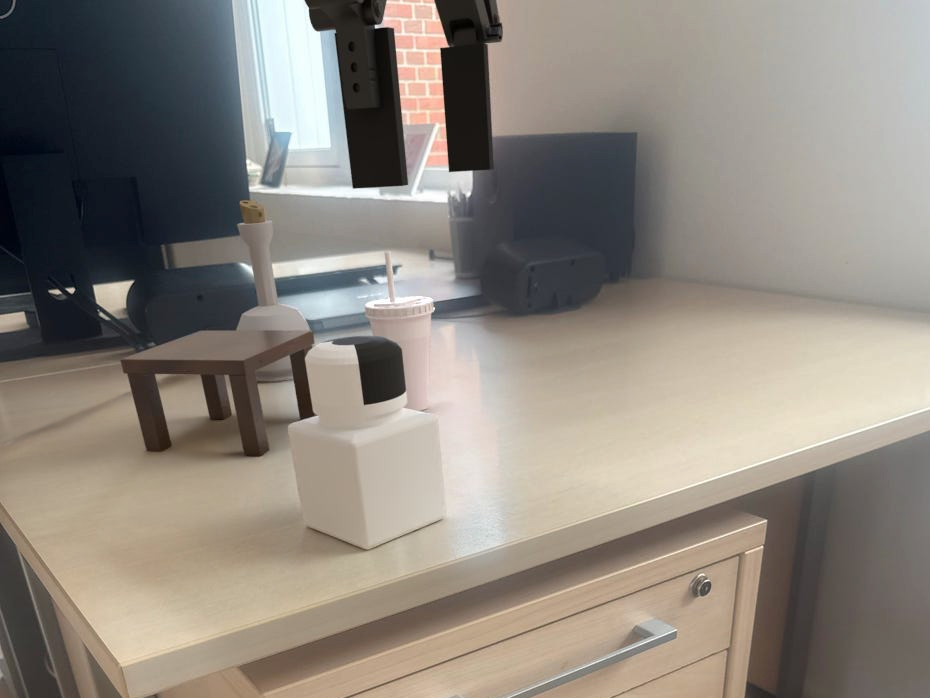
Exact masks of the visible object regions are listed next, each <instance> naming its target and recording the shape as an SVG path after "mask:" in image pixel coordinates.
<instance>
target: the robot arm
mask: <svg viewBox="0 0 930 698" xmlns="http://www.w3.org/2000/svg"><path fill="white" fill-rule="evenodd" d="M304 2H305V5H306V6H307V8H308V17H309V21H310V24H311V27H312V28H313V30H314V31H315V32H318V33H319V32H326V31H328V32H329V31H335V32H334V41H335V48H336V49H335V50H336V57H337V59H336V60H337V67H338V75H339V82H340V83H339V84H340V91H341V92H340V93H341V101H342V109H343V118H344V127H345V132H346V142H347V150H348V160H349V169H350V176H351V185H352V190H353V189H373V188H389V187H404V186H409V178H408V167H407V157H406V146H405V145H406V144H405V135H404V134H405V133H404V123H403V113H402V112H403V111H402V102H401V92H400V79H399V67H398V58H397V47H396V45H397V44H396V35H395V34H396V33H395V28H394V27H389V26H384V27H377V28H376V26H379V25H381V24H382V23H383V20H384V16H385V11H386V8H387V7H386V6H387V2H388V0H304ZM433 2H434V5H435V8H436V11H437V15H438V17H439V21H440V24H441V27H442V30H443V34H444V37H445V41H446V43H447V46H446V47H440V48H439V50H440V64H441V65H440V67H441V79H442V80H441V81H442V94H443V95H442V96H443V107H444V121H445V124H444V125H445V136H446V137H445V138H446V152H447V166H448V173H457V172H458V173H459V172H460V173H461V172H476V171H492V170H494V169H495V166H494V146H493V145H494V144H493V126H492V125H493V124H492V109H491V108H492V107H491V105H492V103H491V102H492V101H491V84H490V83H491V82H490V65H489V45H488V44H493V43H494V44H497V43H502V41H503V36H504V30H503V29H504V28H503V22H501V18H500V15H499V10H498V3H497V0H433Z"/></svg>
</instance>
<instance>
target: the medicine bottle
mask: <svg viewBox="0 0 930 698" xmlns="http://www.w3.org/2000/svg"><path fill="white" fill-rule="evenodd" d="M305 363H306V369H307V376H308V382H309V388H310V395H311V401H312V408H313V412H314V413H315V414H317V415H318V416H315V417H311V418H308V419H304V420H301V421H300V420H298V421H297V420H296V421H294V422H292V423H289V424H288V426H287V433H288V439H289V446H290V451H291V457H292V463H293V469H294V474H295V475H294V476H295V480H296V487H297V492H298V498H299V504H300V509H301V516H302V522H303V524H304V526H305V527H307V528H310V529H313V530H316V531H318V532H319V533H320V532H321V533H323V534H325V535H328V536H331V537H333V538H336V539H338V540H340V541H344V542H345V543H348V544H351V545H353V546H356V547H358V548H360V549H363V550H366V551H367V550H371V549H373V548H375V547H378V546H381V545H384V544H385V543H388V542H390V541H392V540H396V539H398V538H399V537H400V538H401V537H402V536H405V535H407V534H410V533H412V532H414V531H417V530H419V529H422V528H424V527H427V526H429V525H432V524H434V523H436V522H438V521H441V520H443V519H445V518H446V517H447V505H446V504H447V503H446V495H445V482H444V471H443V470H444V469H443V460H442V459H443V458H442V448H441V437H440V423H439V418H438V416H437V415H436V414H433V413H429V412H425V411H416V410H411V409H407V408H403V406H405V405H406V404H407V394H406V384H405V374H404V365H403V355H402V348H401V347H400V346H399V345H398V344H397V343H396V342H394V341H392V340H389V339H387V338H384V337H379V336H373V335H353V336H352V335H351V336H344V337H338V338H332V339H329V340H325V341H322V342H320V343H318V344H316V345H315V347H314V348H312V349H311V350H309V351H308V353H307V355H306V357H305Z"/></svg>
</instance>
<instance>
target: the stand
mask: <svg viewBox="0 0 930 698" xmlns="http://www.w3.org/2000/svg"><path fill="white" fill-rule="evenodd" d="M314 341H315V337H314V330H311V329H310V330H241V331H236V330H198V331H196V332H193V333H190V334H187V335H185V336H181V337H179V338H176V339H174V340H170V341H168V342H164V343H162V344H159V345H157V346H154V347H151V348H148V349H145V350H142V351H140V352H136V353H134V354H131V355H129V356H126V357H123V358H121V359H119V360H120V364H121V368H122V373H123V374H126V375H127V378H128V382H129V387H130V392H131V395H132V399H133V403H134V408H135V411H136V415H137V418H138V419H137V420H138V422H139V427H140V430H141V434H142V435H141V436H142V438H143V444H144V446H145V447H144V448H145V450H146V451H147V452H163V451H165V450H167V449H169V448H171V447H172V446H173V445H172V441H171V436H170V431H169V428H168V424H167V419H166V414H165V411H164V405H163V402H162V397H161V393H160V390H159V389H160V388H159V386H158V381H157V376H156V375H193V376H194V375H195V376H196V375H197V376H198V375H199V376H200V379H201V383H202V389H203V394H204V398H205V402H206V407H207V413H208V417H209V419H210V420H225V419H227V418H229V417H231V416H233V412H232V407H231V403H230V397H229V391H228V386H227V381H226V376H228V378H229V384H230V389H231V395H232V400H233V404H234V410H235V415H236V419H237V424H238V430H239V435H240V440H241V444H242V450H243V455H244V456H251V457H253V456H254V457H261V456H263V455H264V454H266V453H267V452H269V451H270V445H269V440H268V434H267V430H266V424H265V417H264V412H263V407H262V402H261V396H260V390H259V384H258V381H257V379H256V373H255V371H256V370H258V369H260V368H263V367H265V366H267V365H269V364H271V363H274V362H276V361H278V360H280V359H282V358H284V357H287V356H289V355H290V361H291V367H292V373H293V379H292V380H293V385H294V390H295V397H296V404H297V409H298V415H299V416H298V417H299V421H301V420H304V419H308V418H311V417H315V416H318V415H317V414H315V413H314V412H313V408H312V401H311V395H310V388H309V382H308V376H307V369H306V363H305V357H306V355H307V353H308V351H309V350H311V349H312V345H313V344H314V343H315V344H316V341H315V342H314ZM146 451H145V452H146Z"/></svg>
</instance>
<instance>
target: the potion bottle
mask: <svg viewBox="0 0 930 698" xmlns="http://www.w3.org/2000/svg"><path fill="white" fill-rule="evenodd" d="M239 207H240V211H241V216H242V219H243V222H240V223H236V226H237V229H238V232H239V237H240V238H241V240H242V241H243V243H245V245H246V246H247V247H248V251H249V257H250V263H251V269H252V274H253V280H254V285H255V292H256V297H257V303H258V305H257V306H254V307H252V308H250V309H248V310H246V311H245V312H243V313H242V314H241V316H240V318H239V321H238V324H237V326H236V329H235V331H241V330H311V328H310V326H309V323H308V321H307V320H306V318H305V317H304V316H303V314H302V312H301V311H300V310H299V309H298V307H297V306H294V305H289V304H283V303H279V299H278V294H277V293H278V292H277V287H276V281H275V275H274V269H273V263H272V257H271V252H270V244H271V242H272V239H273V237H274V230H273V229H274V226H273V220H267V213H266V205H260V204H259V203H258V204H257V201H255V200H249V199H244V200H240V201H239ZM314 342H315V343H314V344H313V345H312V348H314V347H315V346H316V341H315V340H314ZM255 373H256V379H257V382H270V383H271V382H272V383H273V382H275V383H276V382H277V383H279V382H284V381H289V380H294V379H293V373H292V367H291V361H290V355H289V356H287V357H284V358H282V359H280V360H278V361H276V362H274V363H271V364H269V365H267V366H265V367H263V368H260V369H258V370H256V371H255Z"/></svg>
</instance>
